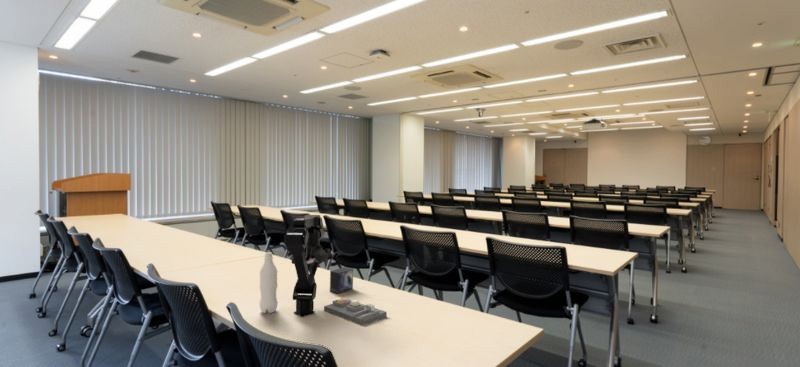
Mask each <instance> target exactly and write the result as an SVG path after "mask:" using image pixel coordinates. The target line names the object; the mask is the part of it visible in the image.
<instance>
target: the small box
mask: <svg viewBox="0 0 800 367" xmlns="http://www.w3.org/2000/svg"><path fill="white" fill-rule="evenodd" d="M329 272H330V274H329V275H330V276H329V280H330V281H329V292H332V293H335V294H342V293H345V292H347V291H351V290H353V288H354V269H353V268H349V267H340V268H336V269H332V270H330V271H329Z"/></svg>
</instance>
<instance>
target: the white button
mask: <svg viewBox="0 0 800 367" xmlns="http://www.w3.org/2000/svg"><path fill="white" fill-rule="evenodd" d="M359 303H360V300H358V299H354V300H351V307H359Z"/></svg>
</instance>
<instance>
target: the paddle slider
mask: <svg viewBox="0 0 800 367" xmlns="http://www.w3.org/2000/svg"><path fill="white" fill-rule="evenodd" d="M365 305H366V312H367V313H371V312H374V311H375V308H376V307H375V305H374V304H371V303H367V304H365Z"/></svg>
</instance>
